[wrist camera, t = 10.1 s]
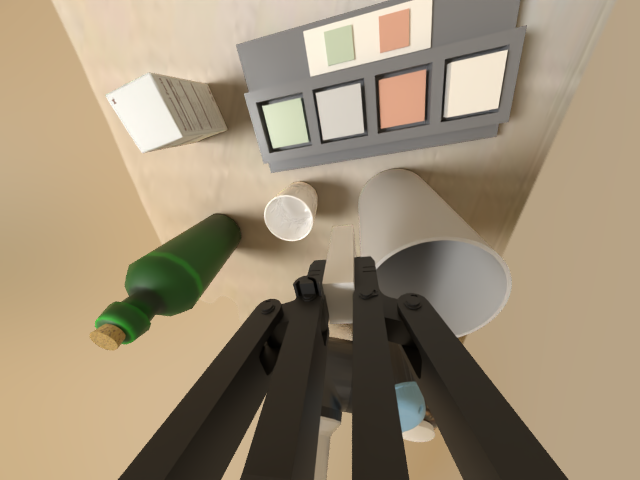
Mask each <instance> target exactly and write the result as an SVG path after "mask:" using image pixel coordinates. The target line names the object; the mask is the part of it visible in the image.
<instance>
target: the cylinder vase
mask: <svg viewBox="0 0 640 480" xmlns="http://www.w3.org/2000/svg"><path fill="white" fill-rule="evenodd" d="M358 213H359V233H360V253H361V257H366V256H371V257H372V258H373V259H374V260H375V266H376V272H377V279H378V285H379V289H380V291H381V292H382V293H383V294H384V295H386V296H388V297H391V298H396V299H398V298H399V297H400V296H401V295H403V294H406V293H415V294H419V295H421V296H423V297H425V298H426V299H427V300H428V301H429V302H430V304H431V305H432V306H433V307H434V309H435V310H436V311H437V313H438V314H439V315H440V316H441V318H442V319H443V320H444V322H445V323H446V324H447V325H448V327H449V328H450V329H451V330H452V332H453V333H454V334H455V336H456V337H457V338H458V337H461V336H464V335H467V334H469V333H471V332H474V331H476V330H478V329H480V328H481V327H483V326H484V325H486V324H487V323H489V322H490V321H491V320H493V319H494V318H495V317H496V316H497V315H498V314H499V313H500V311H501V310H502V309H503V307H504V306H505V304H506V303H507V301H508V298H509V296H510V292H511V287H512V279H511V274H510V271H509V268H508V266H507V264H506V263H505V261H504V260H503V259H502V257H501V256H500V255H499V254H498V253H497V252H496V251H495V250H494V249H493V248H492V247H491V246H490V245H489V244H488V243H487V242H486V241H485V240H484V239H482V238H481V237H480V236H479V235H478V234H477V233H476V232H475V231H474V230H473V229H472V228H471V227H470V226H469V225H468V224H467V223H466V222H465V221H464V220H463V219H462V218H461V217H460V216H459V215H458V214H457V213H456V212H455V211H454V210H453V209H452V208H451V207H450V206H449V205H448V204H447V203H446V202H445V201H444V200H443V199H442V198H441V197H440V196H439V195H438V194H437V193H436V192H435V191H434V190H433V189H432V188H431V187H430V186H429V185H428V184H427V183H426V182H425V181H424V180H423V179H422V178H421V177H420V176H418V175H417V174H415V173H414V172H411V171H409V170H405V169H390V170H386V171H383V172H381V173H379V174H377V175H375V176H374V177H372V178H371V179H370V180H369V181H368V182H367V183H366V184H365V186H364V187H363V189H362V191H361V193H360V196H359V200H358Z"/></svg>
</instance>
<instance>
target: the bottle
mask: <svg viewBox="0 0 640 480" xmlns="http://www.w3.org/2000/svg"><path fill="white" fill-rule="evenodd" d="M240 240H241V232H240V228H239V227H238V226H237V224H236V223H235V222H234V220H232V219H230V218H229V217H227V216H225V215H220V214H213V215H211V216H210V217H208V218H206V219H204V220H203V221H201V222H200V223H198V224H196V225H195V226H193V227H191V228H190V229H188V230H186V231H185V232H183V233H181V234H180V235H178V236H176V237H175V238H173V239H172V240H170V241H168V242H167V243H165V244H163V245H162V246H160V247H158V248H157V249H155V250H153V251H152V252H150V253H148V254H147V255H145V256H143V257H142V258H140V259H139V260H137V261H135V262H134V263H132V264H130V265H129V268H128V272H127V275H126V281H125V288H126V290H127V293H128V295H129V297H128V298H126V299H125V300H123V301H122V302H114V303H112V304H110V305H109V306H108V307H107V308H106V309H105V310H104V312H103V313H102V314H101V315H100V316H99V317H98V319H97V320H96V321H95V327H96V328H97V329H96V330H95V331H93V332H91V333H90V338H91V340H92V341H93V342H94V343H95V344H97V345H98V346H99V347H102V348H104V349H107V350H116V349H117V348H118V347H119V346H120V344H129V343H131V342H133V341H134V340H136V339H137V338H138V337H139V336H141V335H142V334H144V333H145V332H146V331H147V330H149V328H150V325H151V323H150V321H151V320H152V318H153V317H154V316H155V315H164V316H173V315H176V314H179V313H182V312H184V311H187V310H189V309H192V308H193V306H194V305H195V304H196V302H197V301H198V300H199V298H200V297H201V295H202V294H203V293H204V291H205V290H206V289H207V287H208V286H209V284H210V283H211V282H212V280H213V279H214V277H215V276H216V275H217V273H218V272H219V271H220V269H221V268H222V266H223V265H224V264H225V262H226V261H227V260H228V258H229V257H230V255H231V254H232V253H233V251H234V250H235V248H236V247H237V246H238V244H239V242H240Z"/></svg>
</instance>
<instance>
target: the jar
mask: <svg viewBox="0 0 640 480" xmlns="http://www.w3.org/2000/svg"><path fill="white" fill-rule="evenodd" d="M424 401H425V399H424ZM425 407H426V413H425V417H424V419H423V420H422V422H421V423H420V424H419V425H418V426H416V427H415V428H413V429H411V430H409V431H405V432H403V433H402V436H403V438H404V439H406V440H409V441H413V442H426V441H430V440H432V439H433V438H434V437H435V433H434V430H435V429H436V428H437V427H438V426H437V424H436V422H435V420H434V418H433V416H432V414H431V412H430V410H429V408H428V406H427V404H426V401H425Z"/></svg>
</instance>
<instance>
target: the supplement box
mask: <svg viewBox="0 0 640 480" xmlns="http://www.w3.org/2000/svg"><path fill="white" fill-rule="evenodd" d="M105 96H106V97H107V99H108V101H109V102H110V104H111V106H112V107H113V109H114V111H115V112H116V114H117V115H118V117H119V118H120V120H121V122H122V123H123V125H124V126H125V128H126V129H127V131H128V133H129V134H130V136H131V137H132V139H133V140H134V142H135V143H136V145H137V147H138V148H139V150H140V151H141V152H142V153H146V152H151V151H156V150H161V149H166V148H171V147H176V146H181V145H186V144H191V143H196V142H198V141H200V140H202V139H205V138H207V137H210V136H213V135H215V134H218V133H221V132H224V131H227V130H228V129H227V126H226V124H225V122H224V120H223V117H222V115H221V113H220V110H219V108H218V106H217V104H216V102H215V99H214V97H213V95H212V93H211V90H210V88H209V86H208V84H206V83H201V82H195V81H190V80H185V79H180V78H175V77H170V76H165V75H160V74H155V73H146V74H144V75H142V76H141V77H139V78H137V79H135V80H133V81H131V82H129V83H127V84H125V85H123V86H121V87H119V88H117V89H116V90H114V91H112V92H110V93H107V94H106V95H105Z"/></svg>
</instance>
